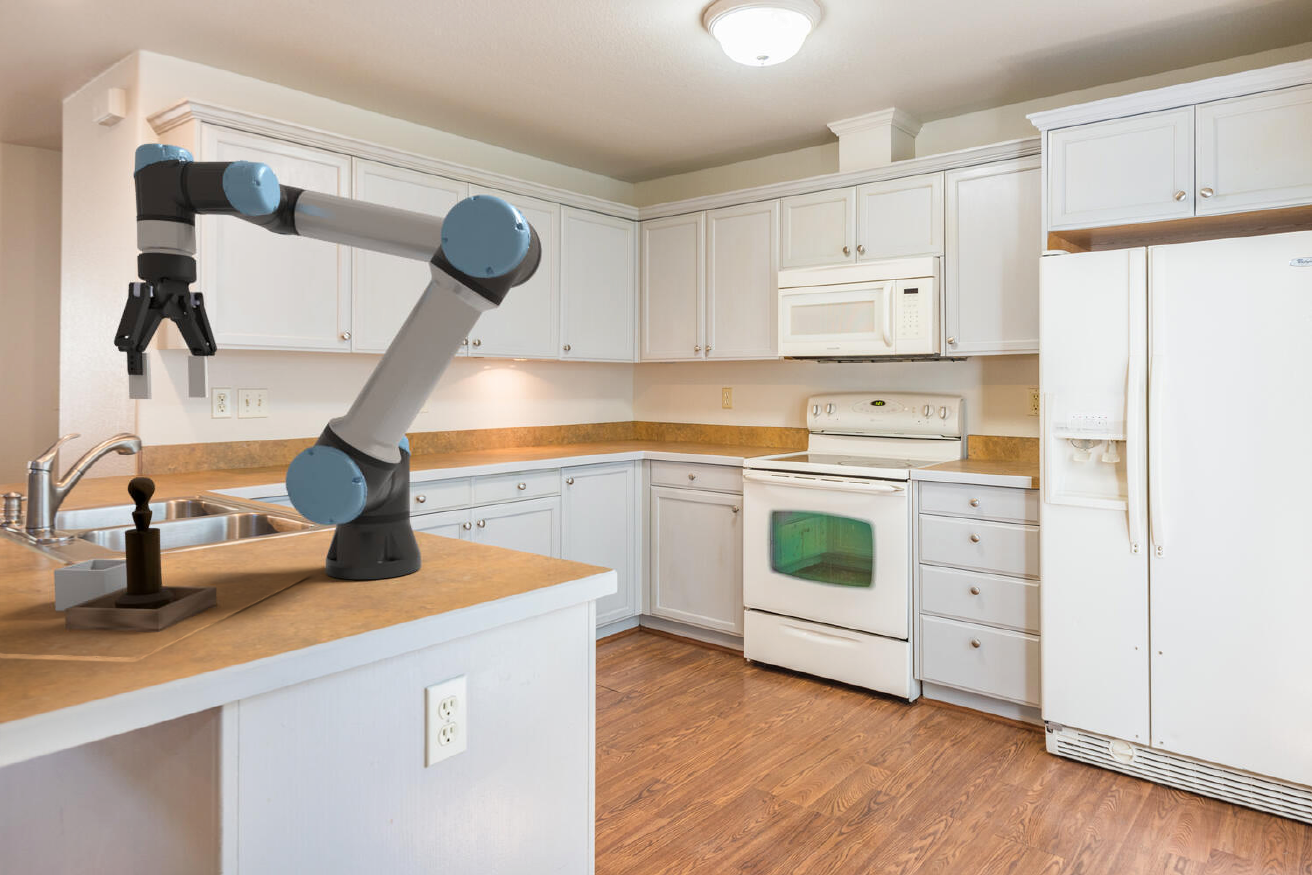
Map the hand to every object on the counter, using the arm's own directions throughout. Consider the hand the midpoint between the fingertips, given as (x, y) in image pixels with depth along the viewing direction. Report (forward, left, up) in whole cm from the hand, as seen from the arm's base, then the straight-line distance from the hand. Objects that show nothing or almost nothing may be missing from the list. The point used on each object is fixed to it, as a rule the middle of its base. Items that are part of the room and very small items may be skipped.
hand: (171, 398), depth 122 cm
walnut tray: (-7, +17, -29) cm, 34 cm away
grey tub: (+3, +12, -29) cm, 31 cm away
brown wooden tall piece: (-7, +17, -28) cm, 33 cm away
